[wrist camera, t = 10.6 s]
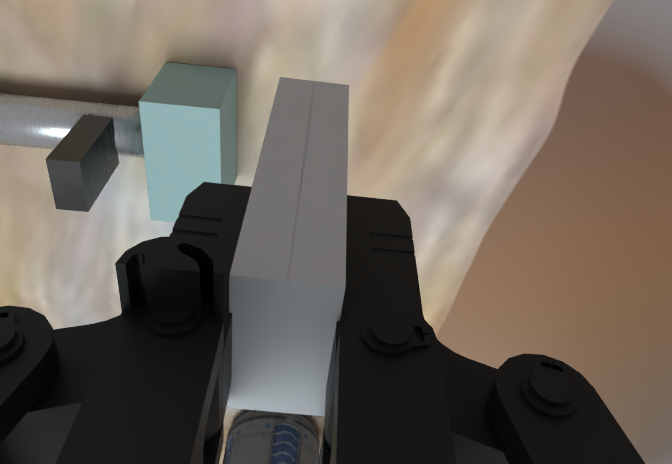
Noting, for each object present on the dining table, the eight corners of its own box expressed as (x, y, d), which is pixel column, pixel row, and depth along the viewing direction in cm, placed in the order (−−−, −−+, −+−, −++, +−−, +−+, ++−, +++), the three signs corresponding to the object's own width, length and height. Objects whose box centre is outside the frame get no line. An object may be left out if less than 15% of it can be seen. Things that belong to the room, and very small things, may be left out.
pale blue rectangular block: (173, 171, 48) (150, 219, 42) (166, 62, 43) (138, 101, 37) (236, 177, 48) (221, 226, 43) (236, 69, 43) (219, 109, 37)
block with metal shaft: (-89, 120, 45) (-180, 187, 37) (-105, 74, 43) (-206, 135, 35) (205, 148, 46) (175, 219, 38) (203, 104, 44) (172, 170, 36)
